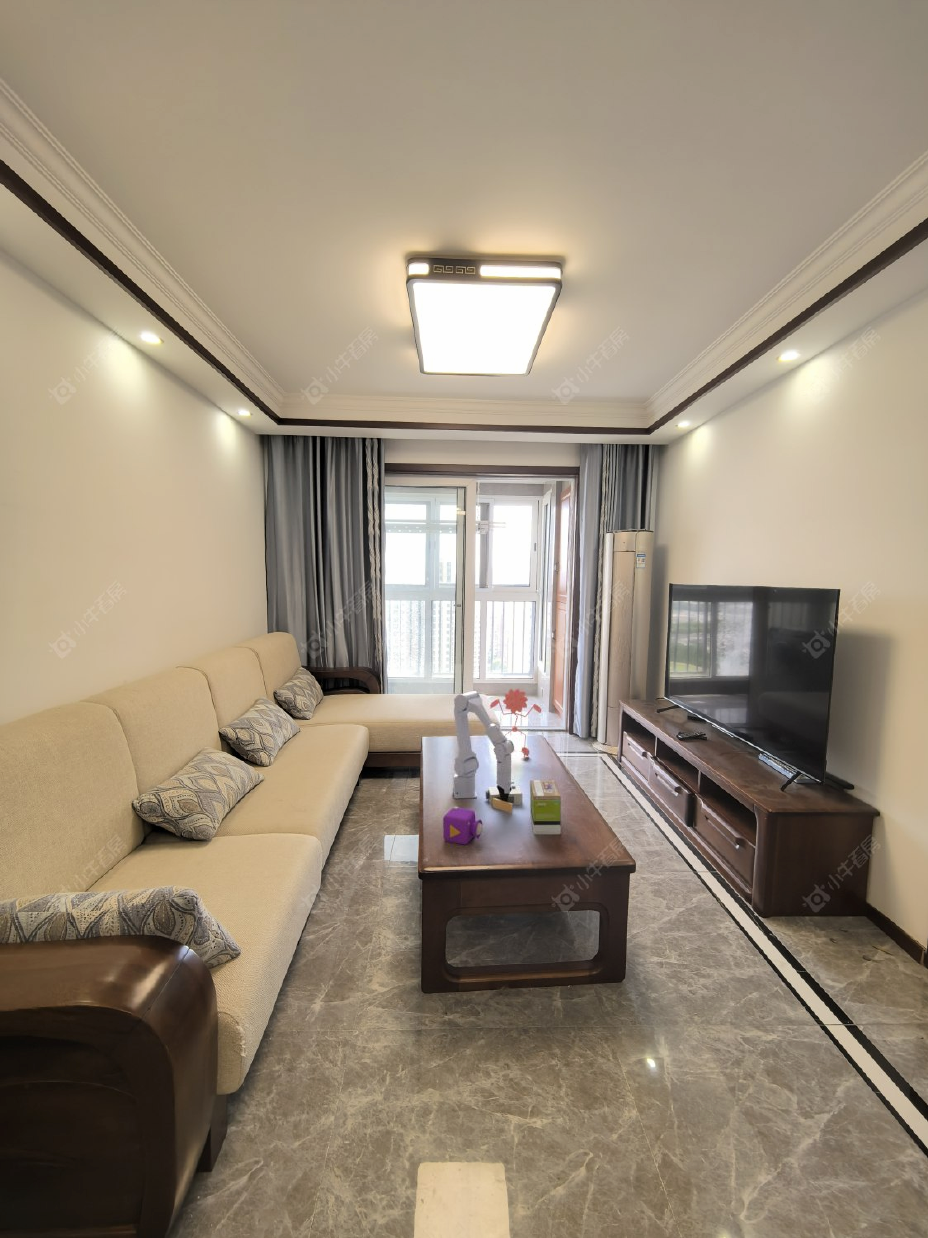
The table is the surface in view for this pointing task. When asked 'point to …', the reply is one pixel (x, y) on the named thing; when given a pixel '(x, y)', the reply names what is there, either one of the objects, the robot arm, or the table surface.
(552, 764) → the table surface
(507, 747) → the robot arm
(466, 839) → the toy camera
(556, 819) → the tea box
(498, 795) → the white knobbed box
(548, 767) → the table surface
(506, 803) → the side door
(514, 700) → the figurine
